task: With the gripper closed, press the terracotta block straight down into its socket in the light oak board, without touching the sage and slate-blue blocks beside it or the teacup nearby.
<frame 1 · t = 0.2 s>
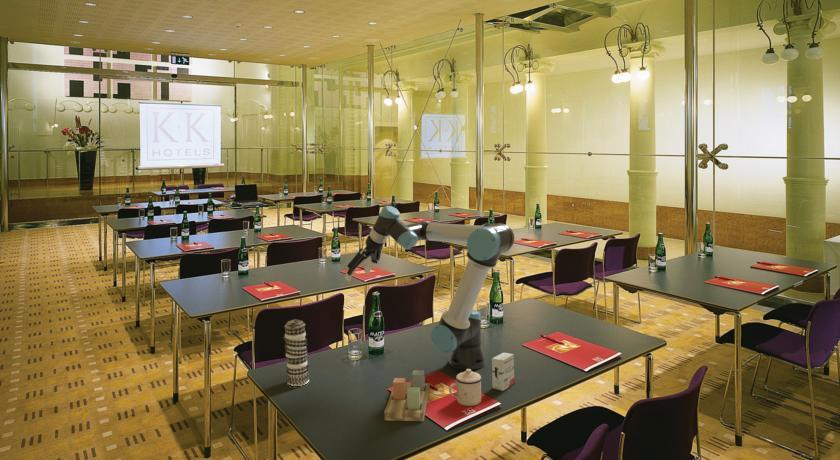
hand: (356, 276, 245), 35 cm above the table, tool tilted 35°, fingers open, 13 cm apart
block sage: (413, 398, 190), point 6 cm above the table, slide at 0.0 cm
block slate: (418, 380, 204), point 6 cm above the table, slide at 0.0 cm
block terracotta: (399, 388, 198), point 6 cm above the table, slide at 0.0 cm
teacup with lid: (465, 402, 199), on the table
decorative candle: (298, 383, 220), on the table
block board: (408, 404, 198), on the table
ink box: (503, 386, 212), on the table
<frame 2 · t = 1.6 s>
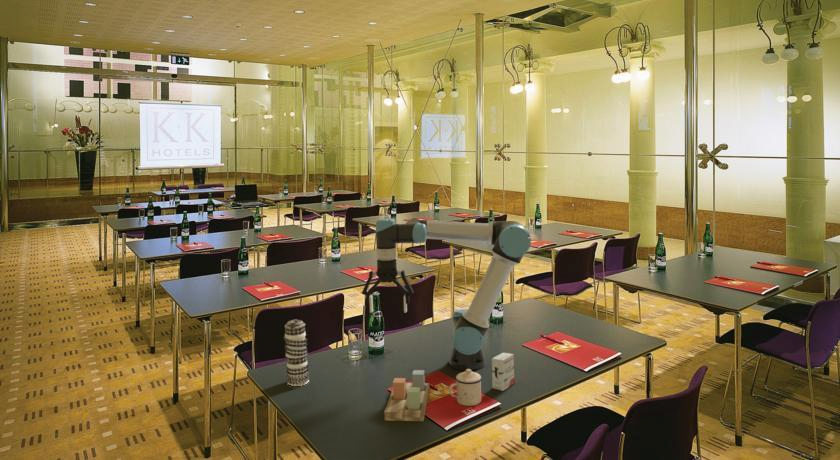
hand: (388, 311, 220), 27 cm above the table, tool pointing down, fingers open, 13 cm apart
nothing on the table moved.
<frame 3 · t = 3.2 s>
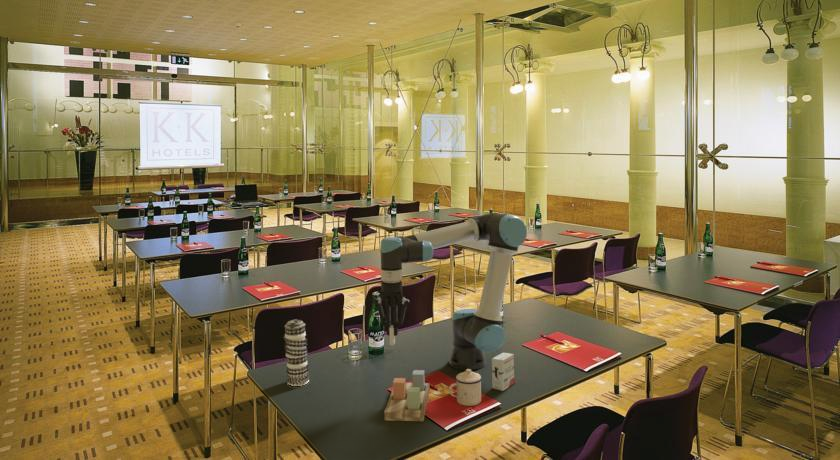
hand: (392, 343, 204), 20 cm above the table, tool pointing down, fingers closed
nothing on the table moved.
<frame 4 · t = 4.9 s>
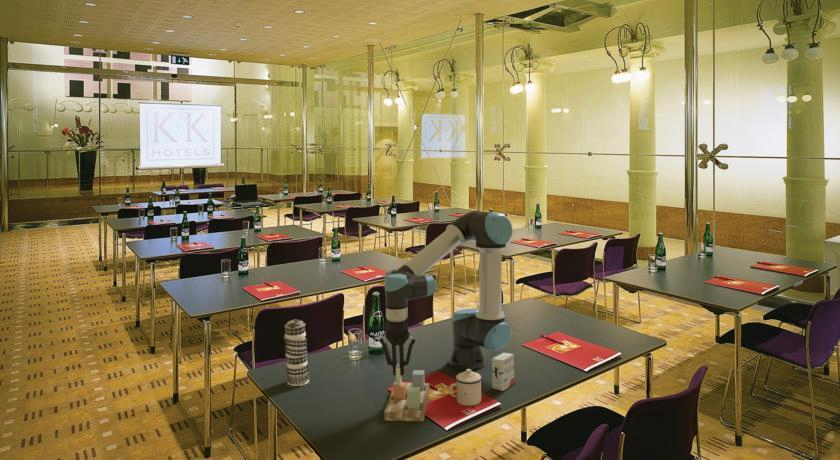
hand: (398, 383, 197), 8 cm above the table, tool pointing down, fingers closed
block terracotta: (399, 392, 198), point 4 cm above the table, slide at 1.4 cm, touching gripper
everything else where it was.
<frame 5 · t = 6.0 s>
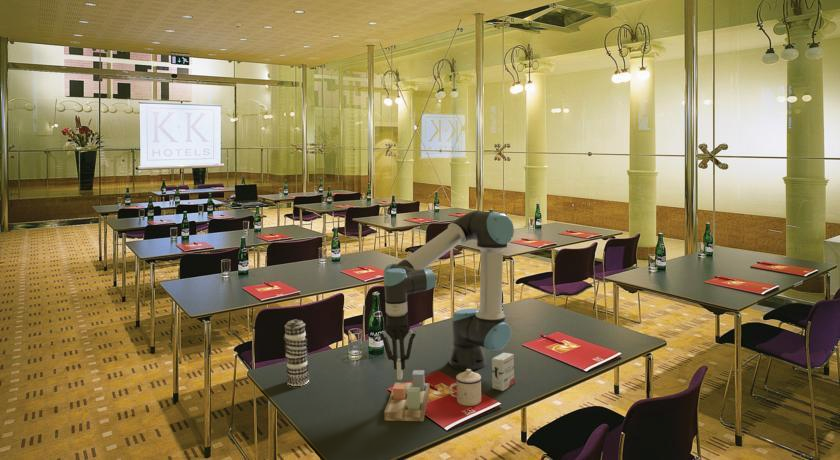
hand: (400, 377, 197), 10 cm above the table, tool pointing down, fingers closed
block terracotta: (399, 394, 198), point 4 cm above the table, slide at 2.3 cm
everything else where it was.
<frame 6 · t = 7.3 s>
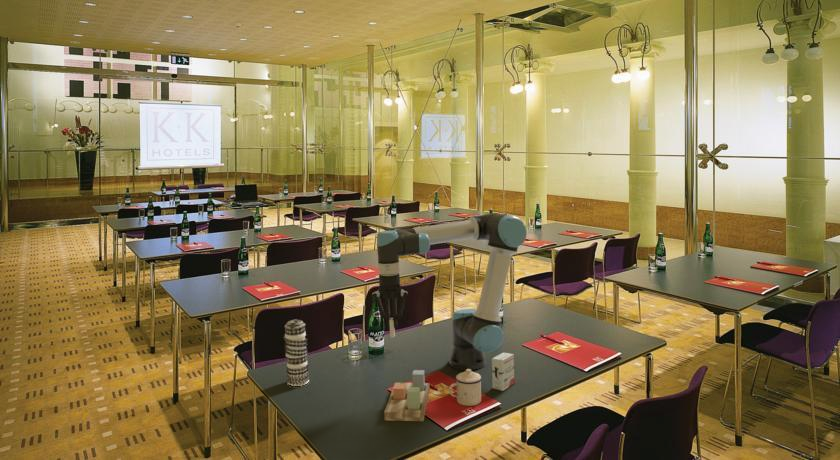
hand: (392, 336, 205), 22 cm above the table, tool pointing down, fingers closed
nothing on the table moved.
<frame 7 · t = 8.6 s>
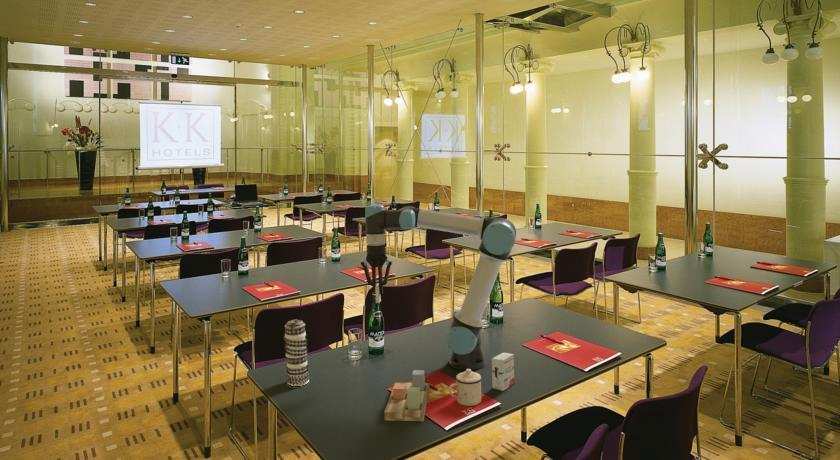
hand: (378, 301, 225), 29 cm above the table, tool pointing down, fingers closed
nothing on the table moved.
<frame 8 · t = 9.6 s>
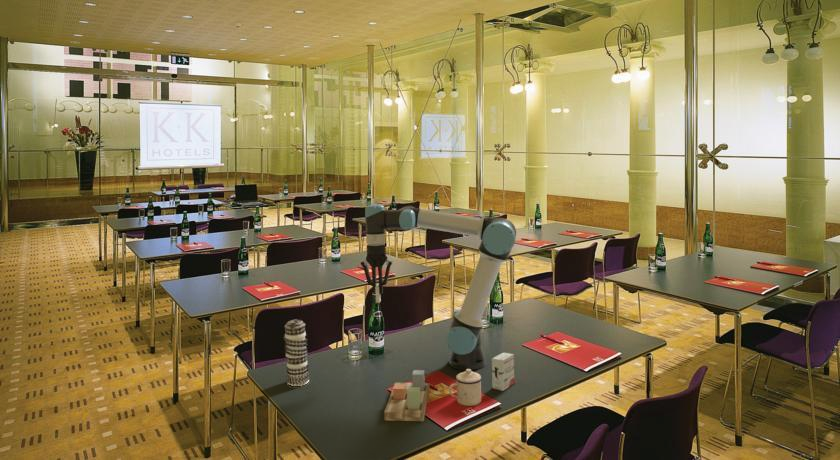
hand: (378, 301, 225), 29 cm above the table, tool pointing down, fingers closed
nothing on the table moved.
at the end: block terracotta slide at 2.3 cm; block sage slide at 0.0 cm; block slate slide at 0.0 cm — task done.
